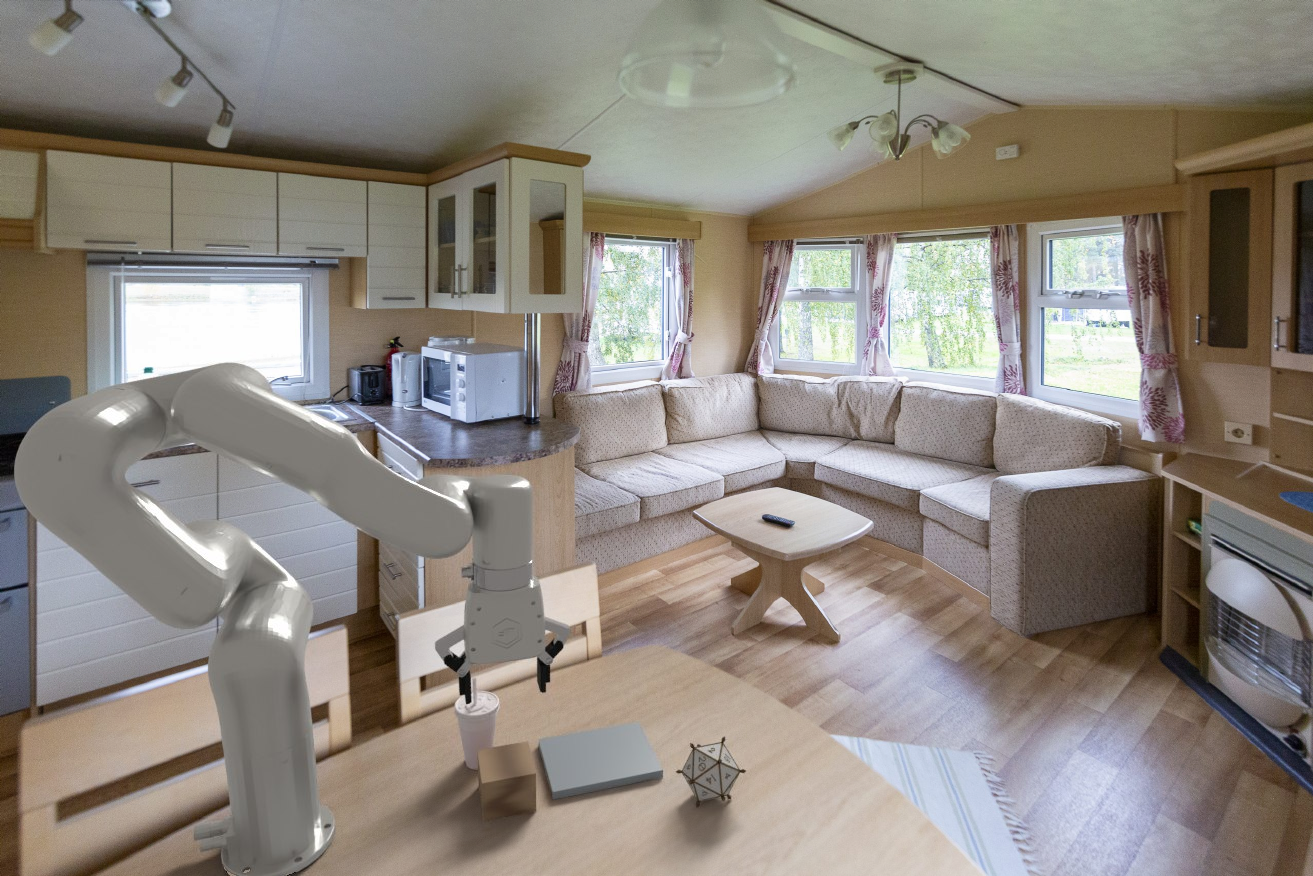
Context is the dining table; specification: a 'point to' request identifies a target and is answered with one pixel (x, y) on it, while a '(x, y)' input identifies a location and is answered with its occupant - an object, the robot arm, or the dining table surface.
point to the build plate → (598, 759)
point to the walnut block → (506, 781)
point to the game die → (710, 771)
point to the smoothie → (476, 723)
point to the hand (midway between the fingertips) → (505, 692)
